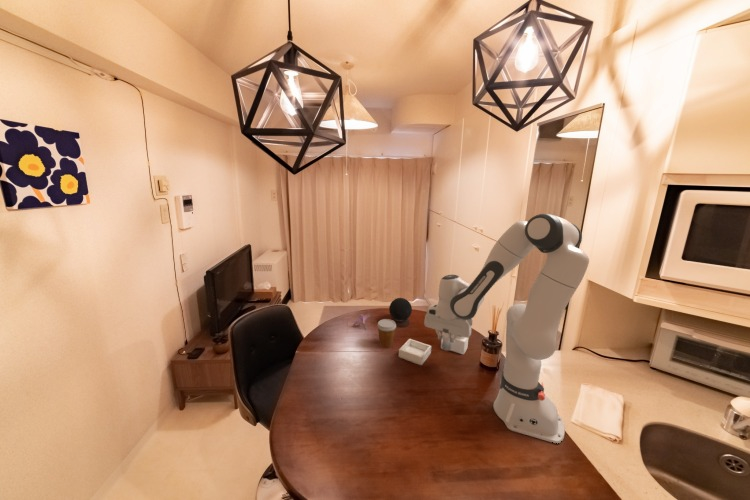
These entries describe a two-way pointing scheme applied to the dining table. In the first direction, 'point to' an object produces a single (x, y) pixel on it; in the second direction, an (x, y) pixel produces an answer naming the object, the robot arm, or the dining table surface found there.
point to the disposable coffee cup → (386, 332)
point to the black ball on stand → (400, 312)
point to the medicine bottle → (459, 344)
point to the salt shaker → (446, 339)
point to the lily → (361, 319)
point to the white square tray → (415, 351)
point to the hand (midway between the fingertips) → (446, 340)
